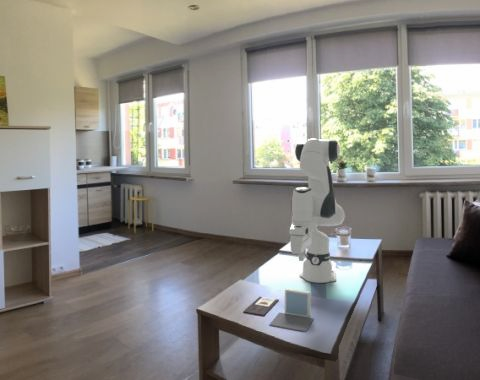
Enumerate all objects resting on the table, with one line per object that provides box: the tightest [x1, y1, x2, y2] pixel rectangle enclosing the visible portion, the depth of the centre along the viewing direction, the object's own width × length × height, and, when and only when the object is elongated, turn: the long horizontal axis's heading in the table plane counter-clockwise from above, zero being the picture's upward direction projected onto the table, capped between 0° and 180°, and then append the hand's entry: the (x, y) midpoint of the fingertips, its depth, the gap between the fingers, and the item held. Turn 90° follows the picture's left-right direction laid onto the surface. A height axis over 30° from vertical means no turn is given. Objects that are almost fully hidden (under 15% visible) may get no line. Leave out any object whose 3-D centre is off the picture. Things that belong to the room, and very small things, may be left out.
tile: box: [284, 287, 312, 318], centre depth 153 cm, size 2×10×10 cm, turn 66°
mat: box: [269, 312, 314, 333], centre depth 146 cm, size 12×14×1 cm
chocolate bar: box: [242, 296, 279, 317], centre depth 162 cm, size 9×1×18 cm
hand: (301, 260), depth 157 cm, fingers closed
